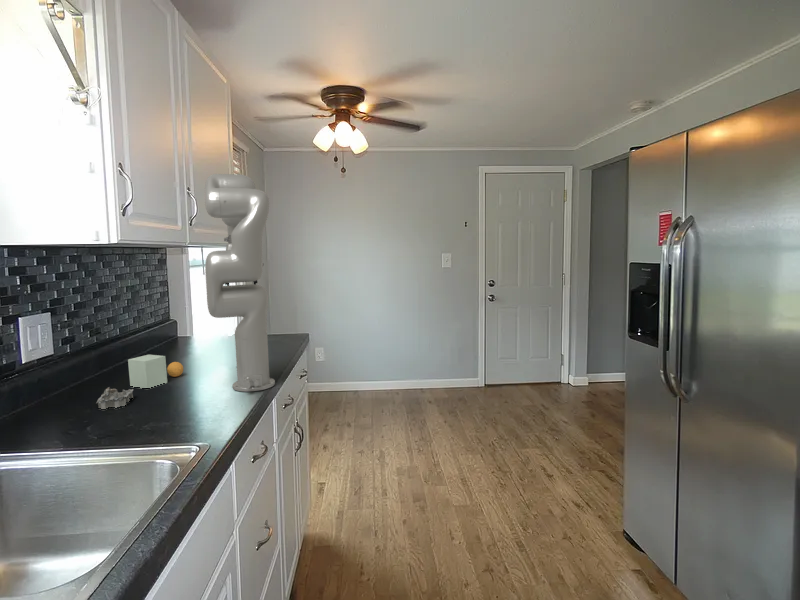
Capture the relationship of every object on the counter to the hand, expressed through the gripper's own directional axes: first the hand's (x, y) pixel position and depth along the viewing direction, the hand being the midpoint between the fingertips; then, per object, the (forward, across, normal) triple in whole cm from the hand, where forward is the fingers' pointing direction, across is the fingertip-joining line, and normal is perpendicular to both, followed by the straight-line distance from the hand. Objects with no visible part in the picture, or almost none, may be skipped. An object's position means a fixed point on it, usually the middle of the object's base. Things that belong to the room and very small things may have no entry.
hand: (241, 285), depth 186 cm
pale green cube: (+28, -31, -23) cm, 48 cm away
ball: (+26, -24, -16) cm, 39 cm away
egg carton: (+29, -38, -41) cm, 63 cm away
